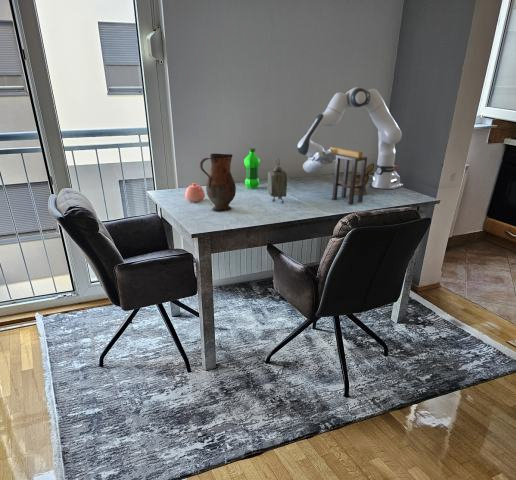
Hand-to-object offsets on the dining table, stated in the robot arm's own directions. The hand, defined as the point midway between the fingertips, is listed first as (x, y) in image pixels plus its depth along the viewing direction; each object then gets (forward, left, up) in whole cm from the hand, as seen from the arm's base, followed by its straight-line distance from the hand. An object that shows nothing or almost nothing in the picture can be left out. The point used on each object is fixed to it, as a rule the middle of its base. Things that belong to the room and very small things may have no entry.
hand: (336, 149), depth 286 cm
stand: (0, +13, -28) cm, 31 cm away
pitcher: (+76, -16, -28) cm, 83 cm away
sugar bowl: (+76, -42, -28) cm, 91 cm away
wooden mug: (-22, +5, -28) cm, 36 cm away
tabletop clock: (+37, -11, -28) cm, 48 cm away
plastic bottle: (+28, -49, -28) cm, 63 cm away
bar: (0, +8, -2) cm, 8 cm away
